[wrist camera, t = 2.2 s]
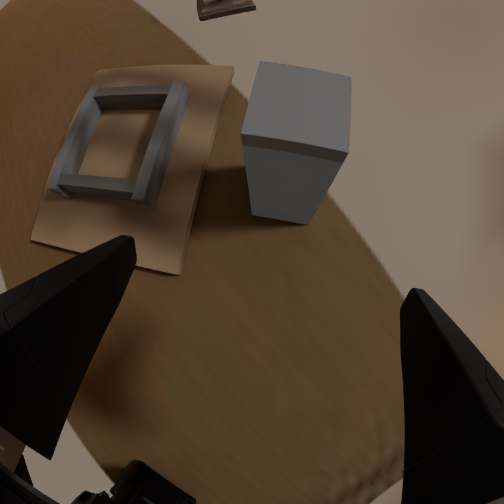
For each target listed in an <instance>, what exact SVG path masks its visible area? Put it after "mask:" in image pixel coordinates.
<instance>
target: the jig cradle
mask: <svg viewBox="0 0 504 504" xmlns="http://www.w3.org/2000/svg"><path fill="white" fill-rule="evenodd" d="M233 75H234V68H233V66H216V65H150V66H134V67H122V68H112V69H103V70H97V72H96V74H95V76H94V77H93V79H92V81H91V83H90V85H89V86H88V88H87V90H86V92H85V94H84V96H83V98H82V100H81V102H80V104H79V106H78V108H77V110H76V112H75V114H74V116H73V118H72V120H71V122H70V125H69V127H68V129H67V131H66V134H65V136H64V138H63V141H62V143H61V145H60V148H59V150H58V153H57V155H56V158H55V161H54V163H53V166H52V169H51V171H50V174H49V177H48V180H47V183H46V186H45V189H44V192H43V195H42V199H41V202H40V205H39V209H38V212H37V216H36V219H35V223H34V227H33V231H32V235H31V239H30V240H33V241H37V242H40V243H44V244H48V245H52V246H56V247H60V248H63V249H67V250H71V251H75V252H79V253H83V252H85V251H87V250H90V249H92V248H94V247H96V246H98V245H100V244H102V243H104V242H107V241H109V240H111V239H113V238H115V237H118V236H120V235H128V236H132V237H133V238H134V240H135V246H136V253H137V262H136V265H135V266H139V267H143V268H148V269H152V270H157V271H161V272H166V273H171V274H175V275H180V276H181V272H182V268H183V263H184V258H185V253H186V249H187V244H188V240H189V235H190V231H191V227H192V222H193V218H194V214H195V210H196V206H197V202H198V198H199V194H200V190H201V186H202V182H203V178H204V174H205V170H206V166H207V163H208V159H209V155H210V152H211V148H212V145H213V141H214V137H215V134H216V131H217V127H218V124H219V120H220V117H221V114H222V110H223V107H224V104H225V100H226V97H227V94H228V91H229V88H230V85H231V81H232V78H233Z"/></svg>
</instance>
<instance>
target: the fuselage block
mask: <svg viewBox="0 0 504 504" xmlns="http://www.w3.org/2000/svg"><path fill="white" fill-rule="evenodd" d="M350 113H351V77H348V76H344V75H339V74H334V73H330V72H325V71H321V70H314V69H310V68H304V67H298V66H292V65H285V64H278V63H270V62H261V61H260V63H259V66H258V70H257V74H256V78H255V81H254V85H253V89H252V92H251V96H250V100H249V104H248V108H247V112H246V115H245V119H244V123H243V127H242V131H241V138H242V145H243V152H244V159H245V167H246V174H247V181H248V189H249V196H250V203H251V211H252V215H254V216H260V217H266V218H272V219H277V220H283V221H288V222H294V223H299V224H304V225H308V224H309V223H310V221H311V219H312V217H313V216H314V214H315V212H316V210H317V209H318V207H319V205H320V203H321V202H322V200H323V198H324V196H325V194H326V193H327V191H328V189H329V187H330V185H331V184H332V182H333V180H334V178H335V176H336V175H337V173H338V171H339V169H340V167H341V166H342V164H343V162H344V160H345V158H346V156H347V155H348V152H349V137H350V115H351V114H350Z"/></svg>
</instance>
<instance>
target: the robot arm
mask: <svg viewBox="0 0 504 504" xmlns="http://www.w3.org/2000/svg"><path fill="white" fill-rule="evenodd" d="M136 262H137V253H136V246H135V240H134V238H133V237H132V236H128V235H120V236H118V237H115V238H113V239H111V240H109V241H107V242H104V243H102V244H100V245H98V246H96V247H94V248H92V249H90V250H87V251H85V252H83V253H81V254H79V255H77V256H75V257H73V258H71V259H69V260H67V261H65V262H63V263H61V264H59V265H57V266H55V267H53V268H51V269H49V270H47V271H45V272H43V273H41V274H39V275H37V276H36V277H34V278H32V279H30V280H28V281H26V282H24V283H22V284H20V285H18V286H16V287H15V288H12V289H10V290H8V291H6V292H4V293H2V294H0V504H59V503H58V502H56V501H54V500H53V499H51V498H49V497H48V496H46V495H45V494H43V493H41V492H40V491H38V490H37V489H35V488H34V487H33V483H32V481H31V478H30V475H29V472H28V469H27V466H26V463H25V459H24V456H23V454H22V453H23V451H24V448H25V446H26V445H27V446H28V447H30V448H31V449H33V450H34V451H36V452H37V453H39V454H41V455H42V456H44V457H45V458H47V459H49V460H51V458H52V456H53V453H54V451H55V448H56V445H57V442H58V439H59V437H60V434H61V431H62V429H63V426H64V424H65V421H66V418H67V416H68V413H69V411H70V408H71V406H72V403H73V401H74V398H75V396H76V394H77V391H78V389H79V387H80V384H81V382H82V380H83V377H84V375H85V373H86V371H87V369H88V366H89V364H90V362H91V360H92V358H93V356H94V353H95V351H96V349H97V347H98V345H99V343H100V341H101V339H102V337H103V335H104V333H105V331H106V329H107V327H108V325H109V323H110V321H111V319H112V317H113V315H114V313H115V311H116V309H117V307H118V305H119V303H120V301H121V299H122V297H123V294H124V292H125V289H126V287H127V284H128V282H129V280H130V277H131V275H132V272H133V270H134V268H135V265H136ZM400 349H401V364H402V376H403V392H404V418H405V451H404V474H403V489H402V501H401V504H504V380H503V379H502V378H501V376H500V375H499V374H498V373H497V372H496V370H495V369H494V368H493V367H492V366H491V364H490V363H489V362H488V361H487V360H486V358H485V357H484V356H483V355H482V353H480V351H479V350H478V349H477V348H476V346H475V345H474V344H473V343H472V342H471V341H470V339H469V338H468V337H467V336H466V335H465V334H464V333H463V332H462V330H461V329H460V328H459V327H458V326H457V325H456V324H455V322H453V320H452V319H451V318H450V317H449V316H448V315H447V314H446V313H445V312H444V311H443V310H442V309H441V307H440V306H439V305H438V304H437V303H436V302H435V301H434V300H433V299H432V298H431V297H430V296H429V295H428V294H427V293H426V292H425V291H424V290H423V289H418V288H412V289H411V290H410V291H409V293H408V295H407V297H406V298H405V300H404V302H403V304H402V306H401V309H400ZM140 466H141V467H142V468H141V467H140ZM110 492H111V494H112V495H113V496H112V497H111V498H110V497H109V495H108V494H107V493H106V492H105V491H102V492H101V493H99V494H98V493H97V494H95V493H91V492H88V491H84V492H82V493H81V494H80V495H79V496H78V497H77V498H76V499H75V500H74V501H73V502H72V503H71V504H196V499H194V498H193V497H191V496H190V495H188V494H187V493H185V492H184V491H182V490H181V489H179V488H178V487H176V486H175V485H173V484H172V483H170V482H169V481H167V480H166V479H165V478H163V477H162V476H160V475H159V474H158V473H156V472H155V471H154V470H152V469H151V468H150V467H148V466H147V465H146V464H145V463H143V462H137V463H136V464H135V465H134V466H133V467H132V468H131V469H130V470H129V471H128V472H127V473H126V474H125V475H124V476H123V477H122V478H121V479H120V480H119V481H118V482H117V483H116V484H115V485H114V486H113V487H112V488H111V489H110ZM189 501H191V502H189Z"/></svg>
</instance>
